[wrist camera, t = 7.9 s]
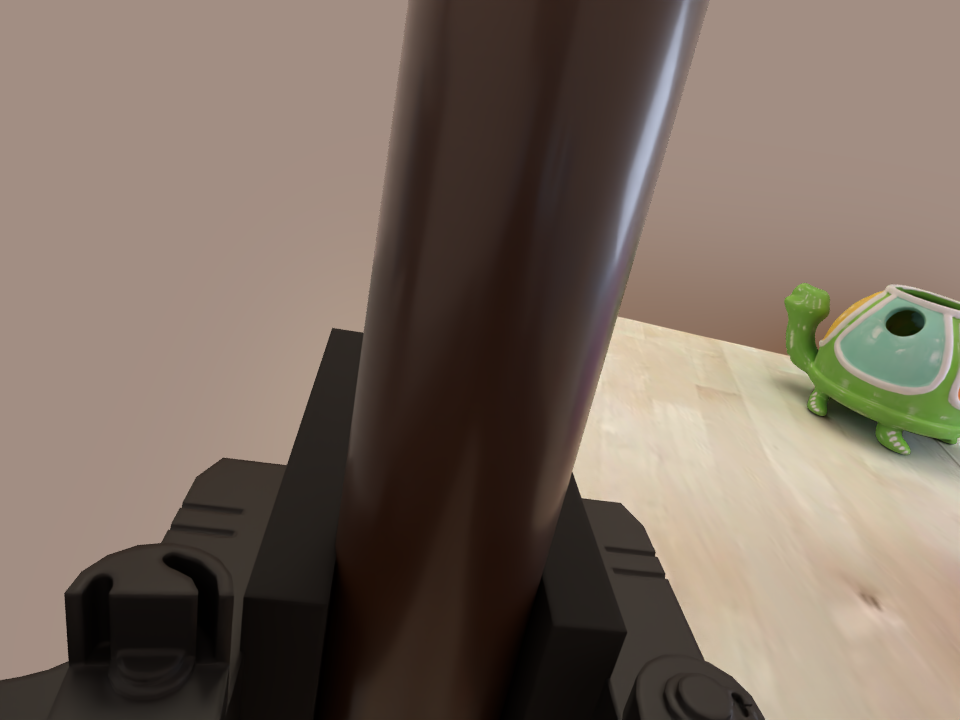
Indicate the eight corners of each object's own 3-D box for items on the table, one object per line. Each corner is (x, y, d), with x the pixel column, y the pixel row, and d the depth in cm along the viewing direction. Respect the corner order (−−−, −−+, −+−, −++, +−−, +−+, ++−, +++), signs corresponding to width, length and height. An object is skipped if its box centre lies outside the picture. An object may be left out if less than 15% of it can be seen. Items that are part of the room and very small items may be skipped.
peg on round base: (108, 1492, 8) (-149, -1441, 1) (150, 923, 13) (150, -248, 6) (557, 1261, 10) (1442, -177, 3) (445, 849, 15) (698, -69, 8)
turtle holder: (793, 361, 73) (837, 253, 69) (980, 447, 61) (1048, 322, 56) (729, 375, 66) (773, 255, 61) (927, 477, 53) (1002, 336, 49)
